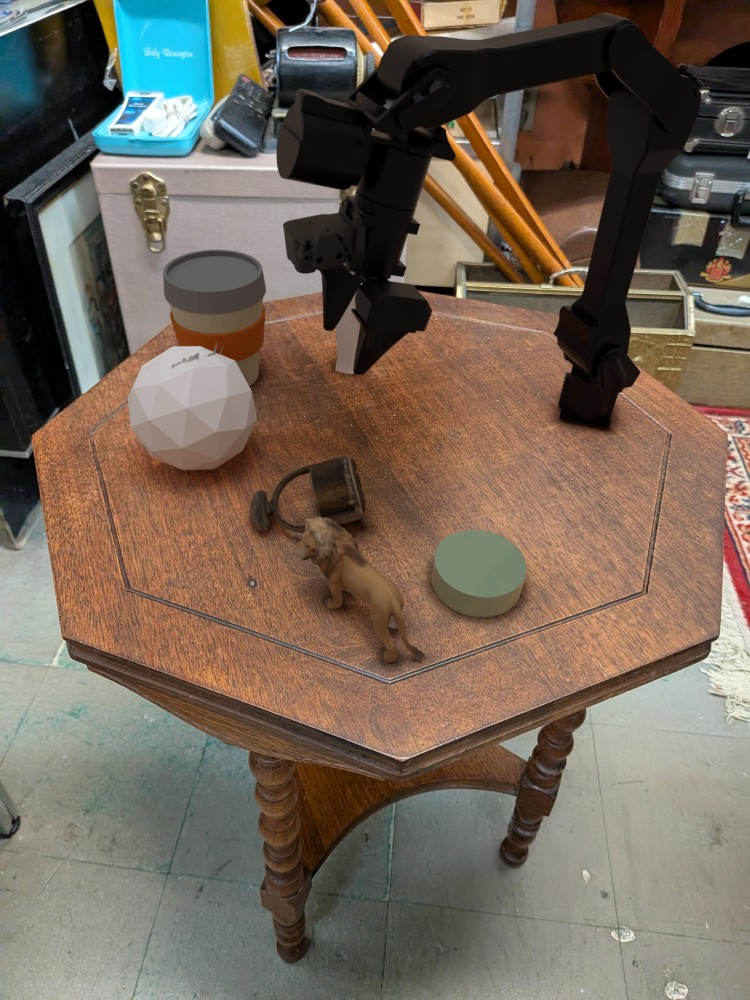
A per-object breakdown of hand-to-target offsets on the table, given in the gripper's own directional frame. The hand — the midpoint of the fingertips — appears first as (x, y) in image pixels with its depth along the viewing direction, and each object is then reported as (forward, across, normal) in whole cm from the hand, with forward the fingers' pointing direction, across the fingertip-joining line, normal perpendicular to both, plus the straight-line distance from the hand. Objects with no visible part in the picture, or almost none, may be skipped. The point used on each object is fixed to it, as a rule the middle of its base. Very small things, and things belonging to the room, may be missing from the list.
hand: (342, 351), depth 75 cm
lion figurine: (+17, +22, -2) cm, 27 cm away
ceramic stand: (+13, +22, +10) cm, 27 cm away
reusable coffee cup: (+17, -24, -4) cm, 30 cm away
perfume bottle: (+13, -21, +12) cm, 27 cm away
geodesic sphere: (+19, -7, -10) cm, 23 cm away
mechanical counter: (+17, +7, -1) cm, 18 cm away
